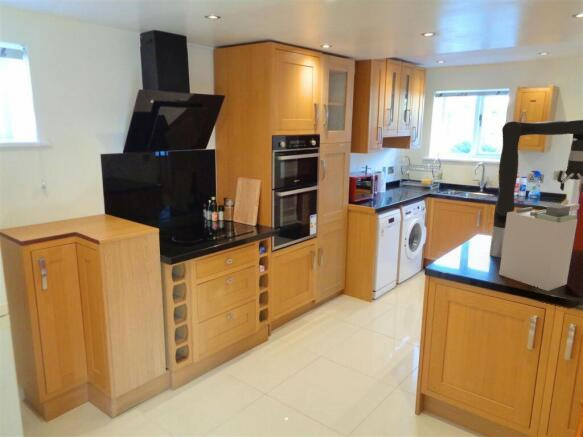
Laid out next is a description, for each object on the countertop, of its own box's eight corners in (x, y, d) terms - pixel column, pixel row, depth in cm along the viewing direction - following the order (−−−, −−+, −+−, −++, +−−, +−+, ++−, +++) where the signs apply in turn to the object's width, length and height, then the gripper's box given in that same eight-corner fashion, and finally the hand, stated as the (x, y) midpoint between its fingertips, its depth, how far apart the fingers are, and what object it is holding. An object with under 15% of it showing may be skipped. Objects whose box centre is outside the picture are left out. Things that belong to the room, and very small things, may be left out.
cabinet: (517, 268, 220) (526, 205, 213) (566, 284, 200) (578, 214, 192) (499, 274, 213) (507, 208, 205) (547, 290, 192) (559, 218, 185)
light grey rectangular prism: (569, 212, 205) (571, 202, 204) (580, 214, 201) (582, 204, 200) (545, 217, 195) (547, 206, 193) (556, 219, 190) (558, 208, 189)
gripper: (562, 159, 215) (557, 191, 219) (595, 161, 209) (589, 193, 213) (559, 158, 221) (555, 189, 225) (592, 159, 216) (586, 191, 220)
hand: (571, 191), depth 219 cm, fingers open, 8 cm apart
